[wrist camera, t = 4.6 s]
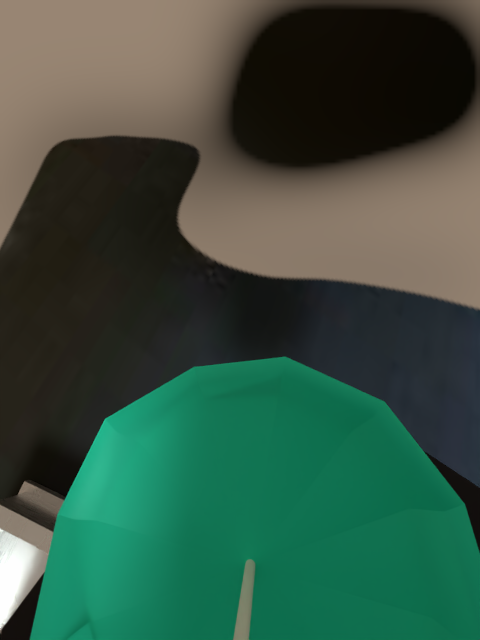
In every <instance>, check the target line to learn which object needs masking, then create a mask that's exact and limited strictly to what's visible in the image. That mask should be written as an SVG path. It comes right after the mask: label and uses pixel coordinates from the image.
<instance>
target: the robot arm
mask: <svg viewBox="0 0 480 640" xmlns="http://www.w3.org/2000/svg"><path fill="white" fill-rule="evenodd" d="M424 453H425V454H426V455H427V456H428V458H429V459H430V460H431V462H432V463H433V464H434V465H435V467H436V468H437V469H438V470H439V472H440V473H441V474H442V476H443V477H444V478H445V479H446V481H447V482H448V483H449V485H450V486H451V487H452V488H453V490H454V491H455V492H456V493H457V495H458V496H459V497H460V499H461V500H462V501H463V502H464V504H465V506H466V509H467V513H468V516H469V519H470V523H471V526H472V529H473V533H474V536H475V539H476V543H477V546H478V549H479V552H480V488H479V487H478V486H476V485H475V484H473V483H472V482H470V481H469V480H467V479H466V478H464V477H462V476H461V475H459V474H458V473H456V472H455V471H453V470H452V469H450V468H449V467H447V466H446V465H444V464H443V463H441V462H440V461H438V460H437V459H435V458H434V457H432V456H431V455H429V454H428V453H426V452H425V451H424ZM44 573H45V572H44ZM44 573H43V574H42V576H41V577H40V578H39V580H38V581H37V582H36V584H35V585H34V586H33V588H32V589H31V590H30V592H29V593H28V594H27V596H26V597H25V598H24V600H23V601H22V602H21V604H20V605H19V606H18V608H17V609H16V610H15V612H14V613H13V614H12V616H11V617H10V619H9V620H8V621H7V623H6V624H5V625H4V627H3V628H2V630H1V633H0V640H30V636H31V632H32V627H33V622H34V618H35V613H36V609H37V604H38V600H39V595H40V591H41V586H42V582H43V577H44Z"/></svg>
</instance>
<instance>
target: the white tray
mask: <svg viewBox="0 0 480 640" xmlns="http://www.w3.org/2000/svg"><path fill="white" fill-rule="evenodd" d="M65 498H66V497H65V496H63V495H61V494H59V493H57V492H55V491H53V490H50V489H48V488H46V487H44V486H42V485H40V484H38V483H36V482H34V481H32V480H27V481H24V483H23V485H22V487H21V489H20V491H19V493H18V495H15V496H12V497H9V498H5V499H2V500H0V633H1V630H2V628H3V627H4V625H5V624H6V623H7V621H8V620H9V619H10V617H11V616H12V614H13V613H14V612H15V610H16V609H17V608H18V606H19V605H20V604H21V602H22V601H23V600H24V598H25V597H26V596H27V594H28V593H29V592H30V590H31V589H32V588H33V586H34V585H35V584H36V582H37V581H38V580H39V578H40V577H41V576H42V574H43V573H44V572H45V568H46V564H47V559H48V555H49V550H50V546H51V541H52V537H53V532H54V528H55V523H56V518H57V514H58V512H59V510H60V508H61V506H62V504H63V502H64V500H65Z"/></svg>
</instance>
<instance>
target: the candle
mask: <svg viewBox="0 0 480 640" xmlns="http://www.w3.org/2000/svg"><path fill="white" fill-rule="evenodd" d="M30 640H480V552H479V549H478V546H477V543H476V539H475V536H474V533H473V529H472V526H471V523H470V519H469V516H468V513H467V509H466V506H465V504H464V502H463V501H462V500H461V499H460V497H459V496H458V495H457V493H456V492H455V491H454V490H453V488H452V487H451V486H450V485H449V483H448V482H447V481H446V479H445V478H444V477H443V476H442V474H441V473H440V472H439V470H438V469H437V468H436V467H435V465H434V464H433V463H432V462H431V460H430V459H429V458H428V456H427V455H426V454H425V453H424V451H423V450H422V449H421V447H420V446H419V445H418V444H417V442H416V441H415V440H414V439H413V437H412V436H411V435H410V433H409V432H408V431H407V430H406V428H405V427H404V426H403V424H402V423H401V422H400V421H399V419H398V418H397V417H396V416H395V414H394V413H393V412H392V410H391V409H390V408H389V407H388V405H387V404H386V403H385V402H384V401H382V400H380V399H378V398H375V397H373V396H371V395H369V394H367V393H364V392H362V391H360V390H358V389H356V388H353V387H351V386H349V385H347V384H345V383H342V382H340V381H338V380H336V379H334V378H331V377H329V376H327V375H325V374H323V373H320V372H318V371H316V370H314V369H312V368H309V367H307V366H305V365H303V364H301V363H298V362H296V361H294V360H292V359H290V358H287V357H278V358H269V359H261V360H252V361H243V362H234V363H225V364H217V365H208V366H199V367H193V368H191V369H190V370H188V371H186V372H185V373H183V374H181V375H179V376H178V377H176V378H174V379H173V380H171V381H169V382H168V383H166V384H164V385H162V386H161V387H159V388H157V389H156V390H154V391H152V392H150V393H149V394H147V395H145V396H144V397H142V398H140V399H138V400H137V401H135V402H133V403H132V404H130V405H128V406H126V407H125V408H123V409H121V410H120V411H118V412H116V413H114V414H113V415H111V416H109V417H108V418H106V419H105V420H104V422H103V424H102V426H101V428H100V430H99V432H98V434H97V436H96V438H95V440H94V442H93V444H92V446H91V448H90V450H89V452H88V454H87V456H86V458H85V460H84V462H83V464H82V466H81V468H80V470H79V472H78V474H77V476H76V478H75V480H74V482H73V484H72V486H71V488H70V490H69V492H68V494H67V496H66V498H65V500H64V502H63V504H62V506H61V508H60V510H59V512H58V514H57V518H56V523H55V528H54V532H53V537H52V541H51V546H50V550H49V555H48V559H47V564H46V568H45V573H44V577H43V582H42V586H41V591H40V595H39V600H38V604H37V609H36V613H35V618H34V622H33V627H32V632H31V636H30Z"/></svg>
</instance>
